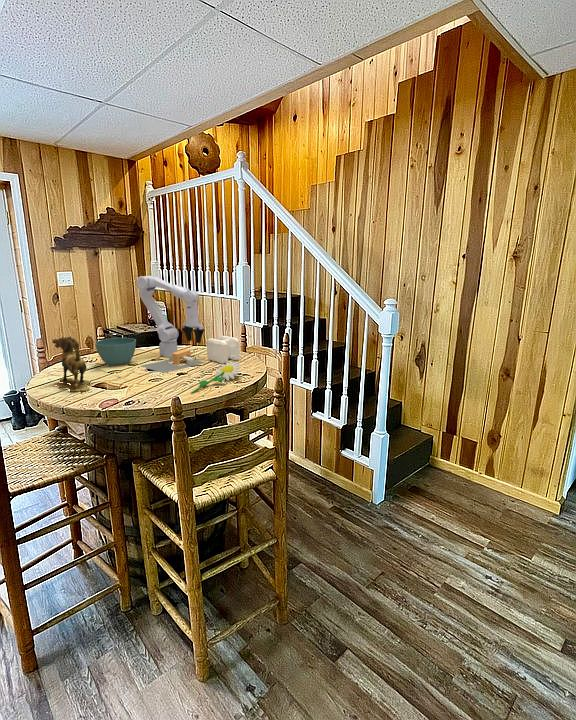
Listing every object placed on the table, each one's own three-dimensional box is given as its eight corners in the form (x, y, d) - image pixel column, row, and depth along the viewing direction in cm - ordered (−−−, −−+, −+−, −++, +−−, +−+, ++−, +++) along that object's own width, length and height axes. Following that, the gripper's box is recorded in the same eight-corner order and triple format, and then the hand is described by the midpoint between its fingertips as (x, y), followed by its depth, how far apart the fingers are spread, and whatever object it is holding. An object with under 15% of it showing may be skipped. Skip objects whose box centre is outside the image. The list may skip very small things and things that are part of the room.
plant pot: (133, 359, 213) (130, 336, 210) (142, 366, 198) (139, 342, 195) (95, 364, 203) (92, 340, 200) (102, 372, 189) (98, 346, 186)
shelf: (140, 368, 194) (139, 359, 193) (182, 359, 212) (182, 350, 211) (163, 376, 182) (162, 366, 181) (206, 365, 199) (206, 355, 198)
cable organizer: (241, 361, 207) (240, 338, 204) (224, 365, 200) (223, 342, 197) (222, 356, 217) (221, 335, 214) (206, 360, 210) (205, 338, 207)
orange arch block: (173, 365, 199) (171, 353, 197) (187, 360, 205) (185, 349, 203) (178, 366, 196) (176, 354, 195) (191, 361, 202) (190, 350, 200)
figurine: (81, 376, 183) (75, 332, 178) (100, 389, 165) (93, 340, 160) (49, 382, 174) (41, 336, 169) (65, 396, 156) (57, 345, 151)
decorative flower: (205, 401, 156) (247, 372, 181) (203, 390, 155) (246, 362, 179) (180, 398, 162) (224, 370, 187) (177, 387, 161) (222, 360, 185)
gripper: (177, 315, 207) (179, 341, 210) (194, 317, 198) (196, 345, 201) (188, 313, 212) (190, 339, 215) (206, 315, 203) (207, 342, 206)
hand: (194, 341), depth 208 cm, fingers open, 7 cm apart
